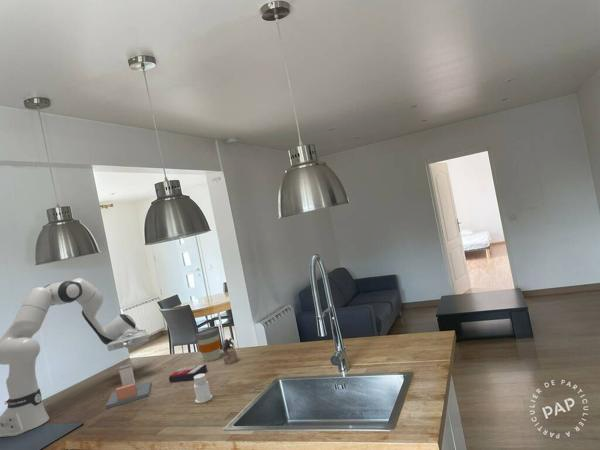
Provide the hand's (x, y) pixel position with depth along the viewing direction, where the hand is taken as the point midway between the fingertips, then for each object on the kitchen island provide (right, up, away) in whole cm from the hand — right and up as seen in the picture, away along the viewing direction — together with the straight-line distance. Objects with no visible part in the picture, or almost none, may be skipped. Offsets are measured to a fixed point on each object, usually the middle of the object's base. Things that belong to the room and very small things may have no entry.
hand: (126, 345), depth 224 cm
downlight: (+49, -11, -43) cm, 66 cm away
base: (+9, -19, -18) cm, 28 cm away
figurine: (+53, -9, +1) cm, 54 cm away
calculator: (+34, -14, -8) cm, 37 cm away
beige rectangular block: (+8, -17, -15) cm, 24 cm away
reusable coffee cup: (+41, -12, +16) cm, 45 cm away
